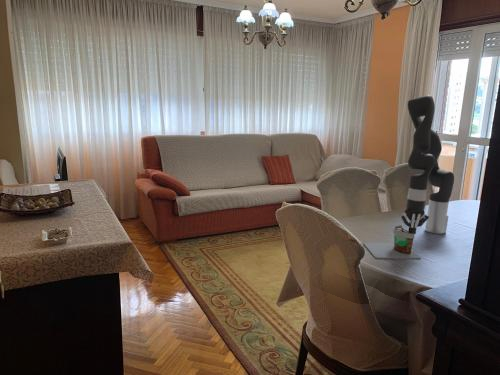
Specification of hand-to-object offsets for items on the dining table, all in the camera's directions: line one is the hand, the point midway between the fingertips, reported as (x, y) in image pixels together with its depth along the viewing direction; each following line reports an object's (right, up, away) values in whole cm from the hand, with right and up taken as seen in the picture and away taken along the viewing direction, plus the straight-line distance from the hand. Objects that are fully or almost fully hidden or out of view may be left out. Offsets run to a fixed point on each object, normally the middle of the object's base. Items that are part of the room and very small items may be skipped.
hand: (411, 234), depth 168 cm
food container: (-5, -7, +2) cm, 9 cm away
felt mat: (-9, -8, +2) cm, 12 cm away
